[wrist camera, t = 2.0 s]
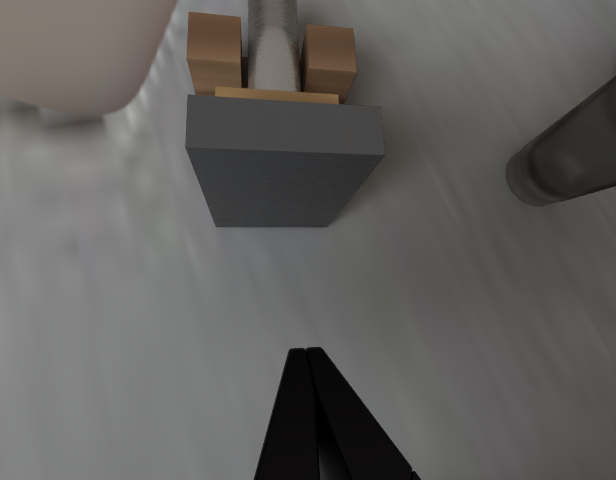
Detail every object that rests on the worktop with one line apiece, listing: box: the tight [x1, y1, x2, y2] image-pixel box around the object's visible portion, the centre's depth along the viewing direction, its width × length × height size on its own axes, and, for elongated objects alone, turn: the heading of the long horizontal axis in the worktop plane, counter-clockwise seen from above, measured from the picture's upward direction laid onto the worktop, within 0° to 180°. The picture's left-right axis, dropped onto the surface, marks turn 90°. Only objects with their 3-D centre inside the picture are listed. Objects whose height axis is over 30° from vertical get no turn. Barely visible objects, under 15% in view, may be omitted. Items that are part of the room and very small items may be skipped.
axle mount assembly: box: [185, 0, 385, 227], centre depth 18 cm, size 14×7×10 cm, turn 2°
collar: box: [215, 86, 339, 104], centre depth 19 cm, size 2×6×6 cm, turn 92°
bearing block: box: [187, 12, 357, 104], centre depth 21 cm, size 3×9×5 cm, turn 92°
